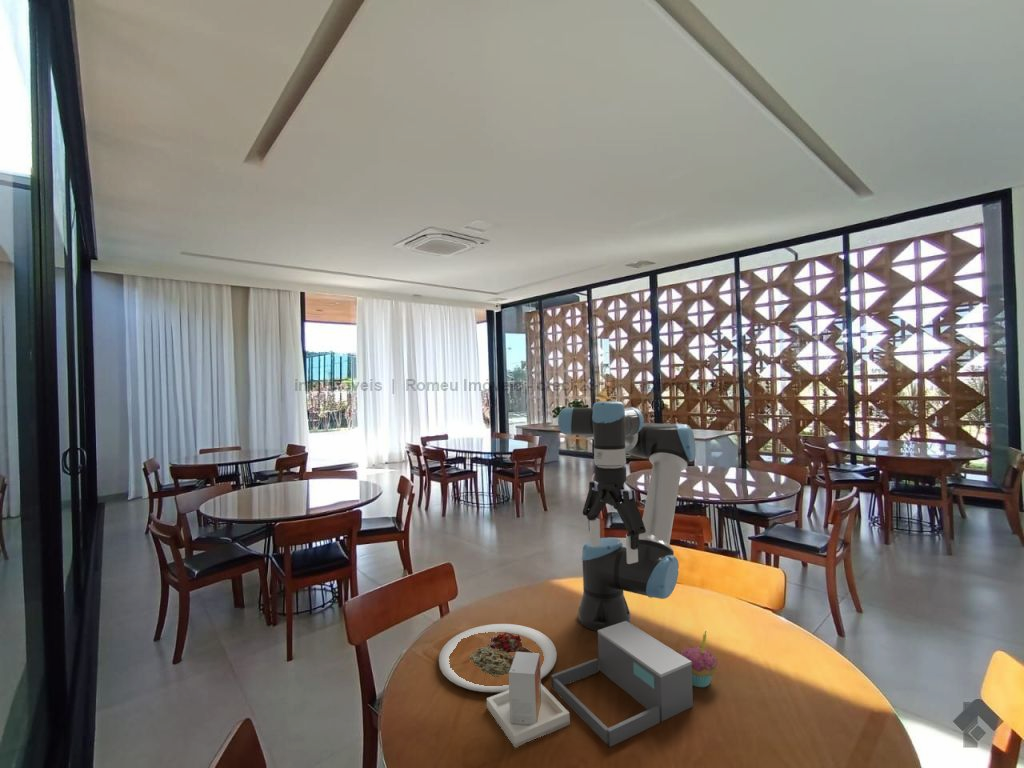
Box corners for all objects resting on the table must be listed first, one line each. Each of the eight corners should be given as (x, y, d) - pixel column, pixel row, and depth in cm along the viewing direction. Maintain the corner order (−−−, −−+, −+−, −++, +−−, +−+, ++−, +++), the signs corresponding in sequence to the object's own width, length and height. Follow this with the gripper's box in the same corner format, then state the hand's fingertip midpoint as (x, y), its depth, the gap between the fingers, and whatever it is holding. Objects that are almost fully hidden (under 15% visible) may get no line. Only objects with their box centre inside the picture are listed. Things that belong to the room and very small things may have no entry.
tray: (486, 709, 102) (486, 698, 102) (537, 689, 108) (537, 679, 108) (514, 748, 91) (514, 736, 91) (569, 724, 97) (569, 712, 97)
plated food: (439, 707, 104) (438, 692, 104) (438, 636, 133) (438, 624, 133) (571, 689, 108) (570, 674, 108) (542, 625, 138) (541, 613, 138)
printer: (551, 688, 109) (550, 646, 109) (627, 658, 119) (625, 620, 119) (609, 747, 90) (608, 696, 90) (693, 706, 101) (691, 661, 101)
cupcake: (716, 673, 112) (714, 623, 112) (720, 696, 104) (718, 641, 104) (678, 667, 115) (676, 618, 115) (678, 689, 107) (676, 636, 107)
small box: (536, 727, 95) (535, 674, 95) (509, 723, 96) (507, 672, 96) (542, 700, 103) (540, 652, 103) (517, 698, 104) (515, 650, 104)
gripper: (567, 460, 123) (570, 542, 123) (634, 475, 101) (637, 574, 101) (590, 457, 126) (593, 537, 126) (660, 471, 104) (663, 567, 104)
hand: (612, 553), depth 114 cm, fingers open, 13 cm apart
